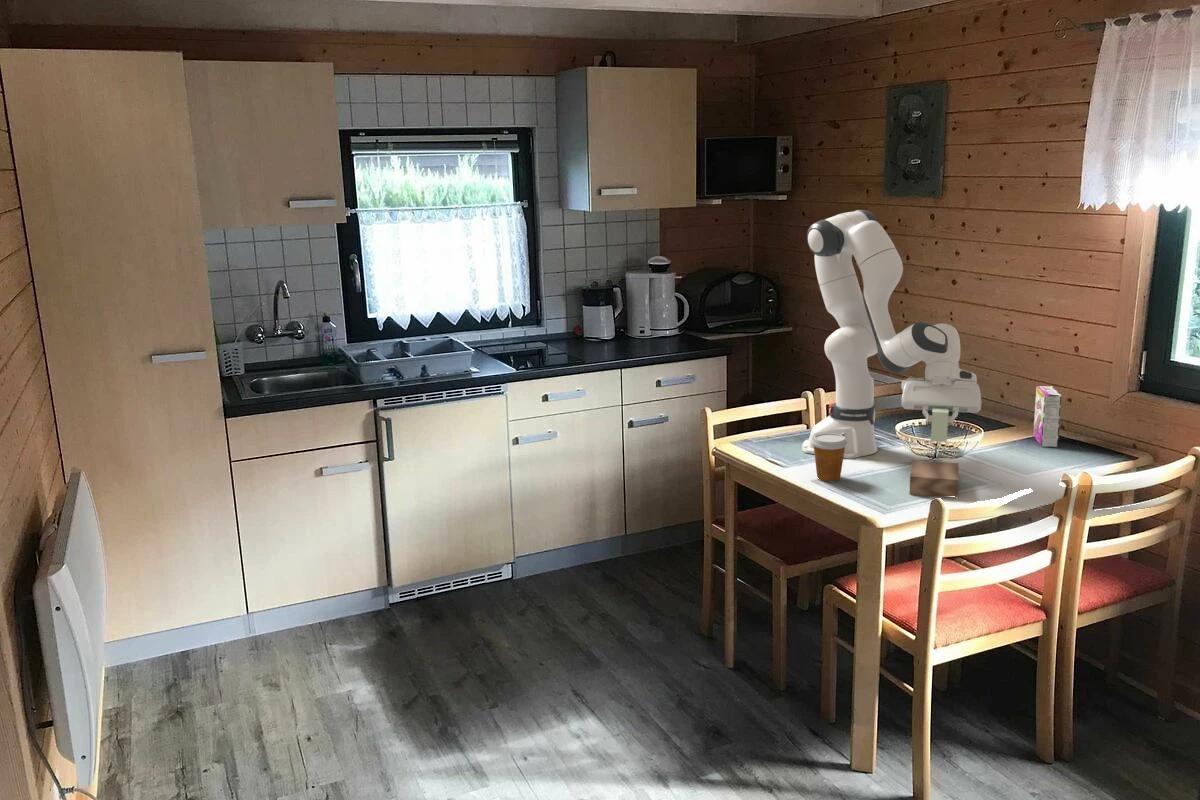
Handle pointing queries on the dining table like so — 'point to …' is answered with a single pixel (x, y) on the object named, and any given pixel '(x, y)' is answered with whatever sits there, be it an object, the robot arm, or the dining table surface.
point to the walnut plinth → (934, 478)
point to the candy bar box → (1047, 416)
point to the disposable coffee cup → (829, 455)
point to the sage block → (939, 424)
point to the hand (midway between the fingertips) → (939, 423)
